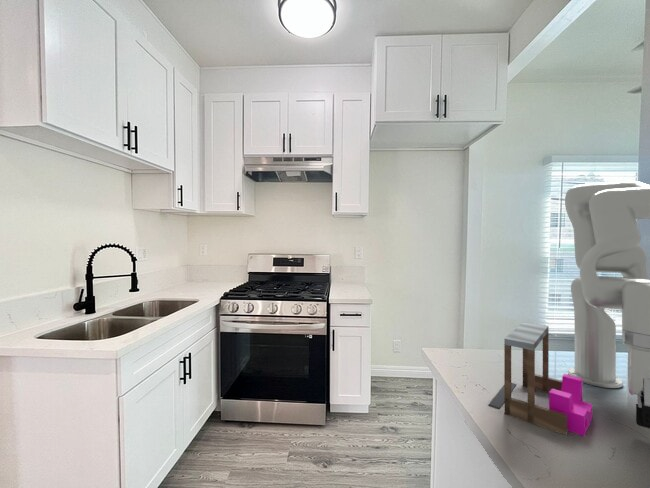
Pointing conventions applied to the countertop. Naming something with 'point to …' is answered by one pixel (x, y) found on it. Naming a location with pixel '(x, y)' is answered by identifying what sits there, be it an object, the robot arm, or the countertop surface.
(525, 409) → the tunnel
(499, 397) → the dark grey flat bar
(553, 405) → the toy block
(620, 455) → the countertop surface
